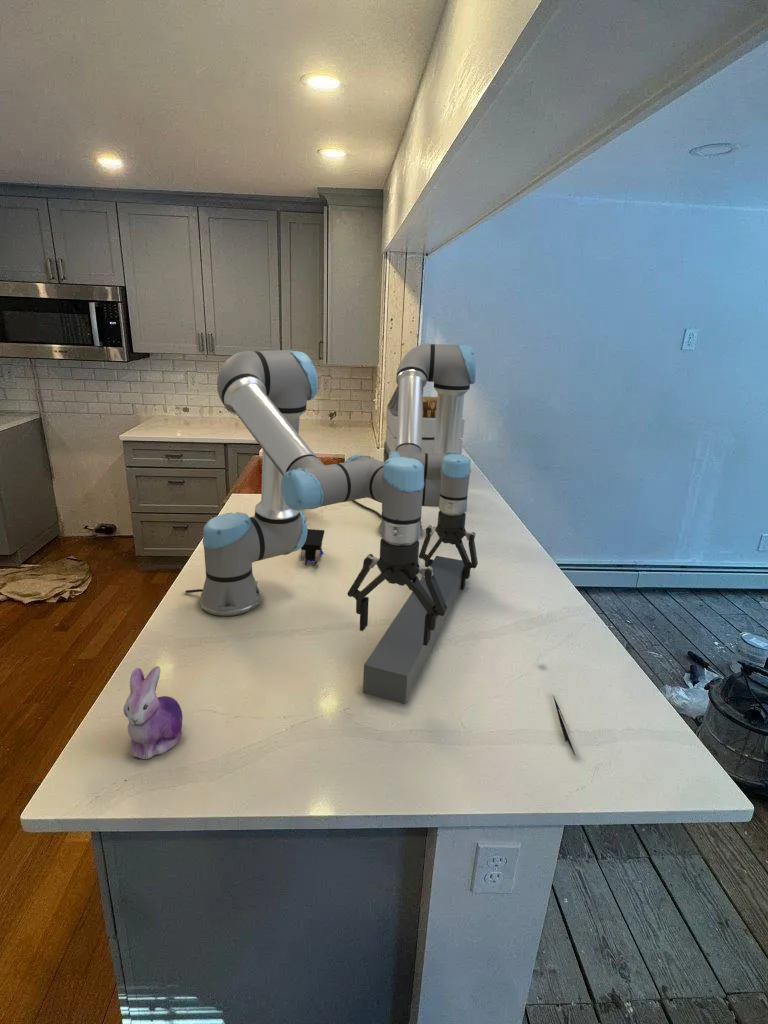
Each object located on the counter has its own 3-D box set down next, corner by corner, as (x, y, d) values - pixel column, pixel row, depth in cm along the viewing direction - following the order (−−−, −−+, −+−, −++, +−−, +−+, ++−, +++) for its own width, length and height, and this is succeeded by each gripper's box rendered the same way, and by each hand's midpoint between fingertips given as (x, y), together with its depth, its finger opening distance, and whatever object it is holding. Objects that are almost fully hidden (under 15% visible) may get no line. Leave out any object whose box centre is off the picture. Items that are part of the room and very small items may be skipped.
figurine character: (321, 573, 171) (325, 548, 184) (321, 551, 168) (325, 527, 181) (299, 572, 171) (304, 547, 184) (298, 550, 167) (304, 526, 181)
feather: (542, 671, 128) (548, 665, 128) (575, 760, 102) (582, 753, 101) (536, 667, 128) (542, 661, 128) (567, 755, 102) (574, 748, 101)
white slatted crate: (382, 463, 289) (386, 382, 275) (445, 464, 293) (451, 384, 279) (390, 482, 257) (394, 392, 243) (460, 483, 261) (468, 394, 247)
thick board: (434, 576, 169) (436, 555, 167) (465, 582, 167) (467, 561, 164) (362, 692, 117) (363, 665, 115) (405, 704, 114) (407, 675, 112)
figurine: (131, 770, 95) (121, 695, 90) (126, 731, 103) (116, 661, 98) (190, 752, 99) (183, 680, 94) (180, 716, 108) (173, 648, 102)
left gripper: (332, 535, 109) (331, 630, 116) (459, 557, 102) (450, 658, 109) (347, 522, 116) (345, 613, 123) (468, 542, 108) (458, 638, 116)
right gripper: (410, 509, 156) (405, 583, 163) (489, 522, 149) (481, 597, 157) (417, 501, 162) (413, 572, 170) (494, 513, 156) (486, 586, 163)
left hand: (394, 634), depth 116 cm, fingers open, 13 cm apart
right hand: (445, 584), depth 163 cm, fingers closed on thick board, 9 cm apart
